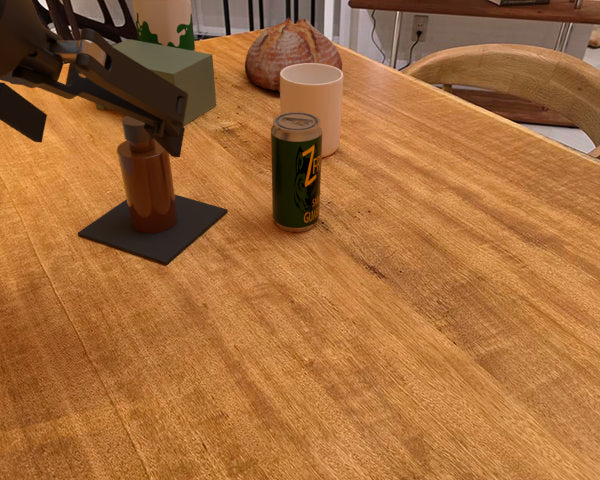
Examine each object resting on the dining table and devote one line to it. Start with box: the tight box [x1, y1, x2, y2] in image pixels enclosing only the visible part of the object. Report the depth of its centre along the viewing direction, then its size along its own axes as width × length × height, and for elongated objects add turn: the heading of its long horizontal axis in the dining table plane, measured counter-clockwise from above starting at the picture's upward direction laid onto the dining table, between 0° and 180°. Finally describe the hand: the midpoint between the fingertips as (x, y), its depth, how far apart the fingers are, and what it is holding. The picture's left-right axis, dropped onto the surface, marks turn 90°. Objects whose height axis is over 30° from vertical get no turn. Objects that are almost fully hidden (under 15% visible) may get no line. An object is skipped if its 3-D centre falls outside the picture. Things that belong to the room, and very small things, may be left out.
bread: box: [244, 16, 343, 94], centre depth 102 cm, size 16×20×10 cm
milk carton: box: [131, 0, 196, 51], centre depth 98 cm, size 9×9×20 cm
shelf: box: [95, 38, 217, 127], centre depth 91 cm, size 16×10×8 cm, turn 63°
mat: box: [77, 194, 229, 266], centre depth 67 cm, size 12×12×1 cm
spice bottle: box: [116, 115, 178, 233], centre depth 63 cm, size 5×5×12 cm
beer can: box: [270, 112, 322, 233], centre depth 64 cm, size 5×5×12 cm
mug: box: [279, 63, 344, 159], centre depth 82 cm, size 12×8×10 cm
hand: (108, 135), depth 54 cm, fingers open, 13 cm apart
